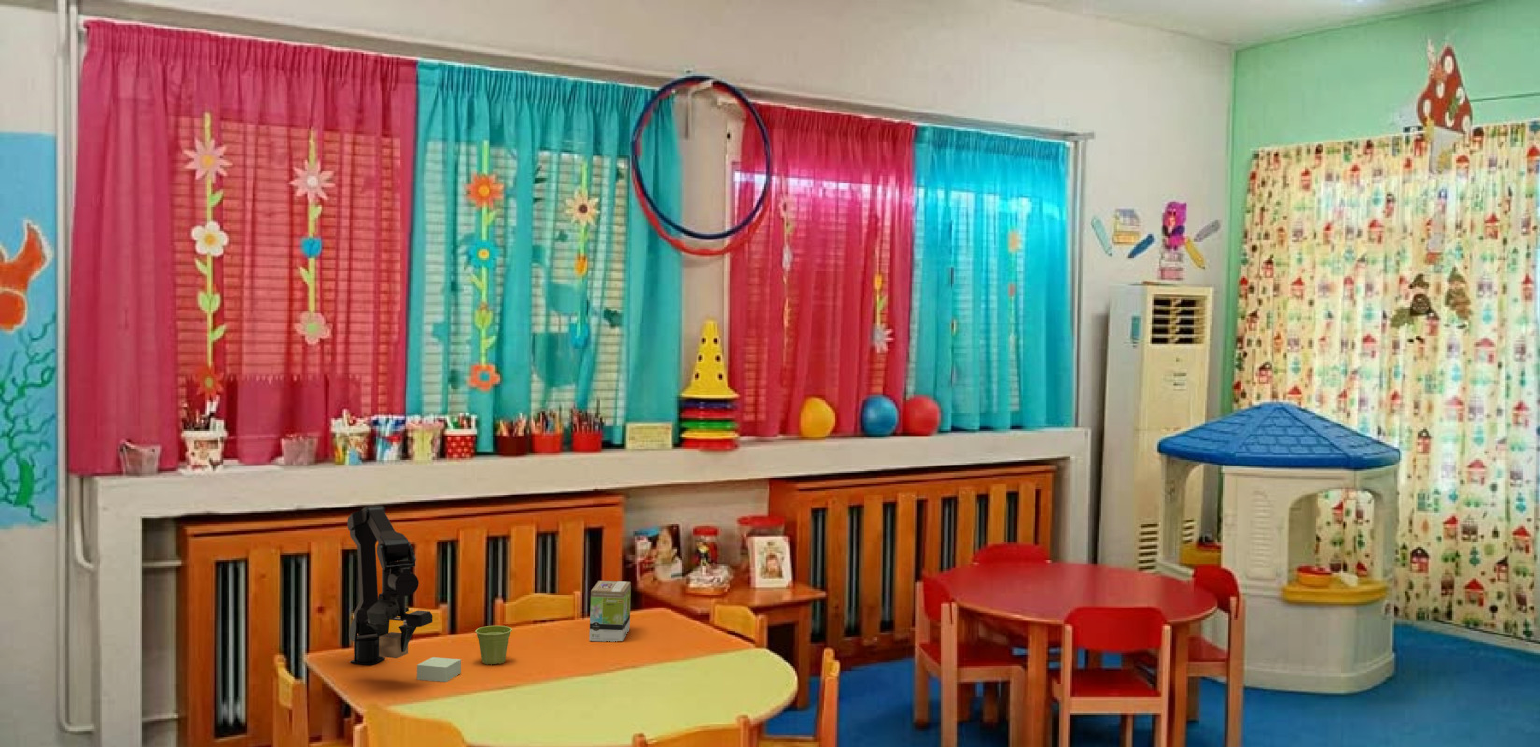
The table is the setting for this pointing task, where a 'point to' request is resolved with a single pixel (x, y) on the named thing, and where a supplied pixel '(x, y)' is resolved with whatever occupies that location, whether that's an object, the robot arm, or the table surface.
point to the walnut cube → (391, 645)
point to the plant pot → (493, 643)
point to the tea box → (610, 611)
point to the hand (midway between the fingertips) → (393, 650)
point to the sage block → (438, 669)
